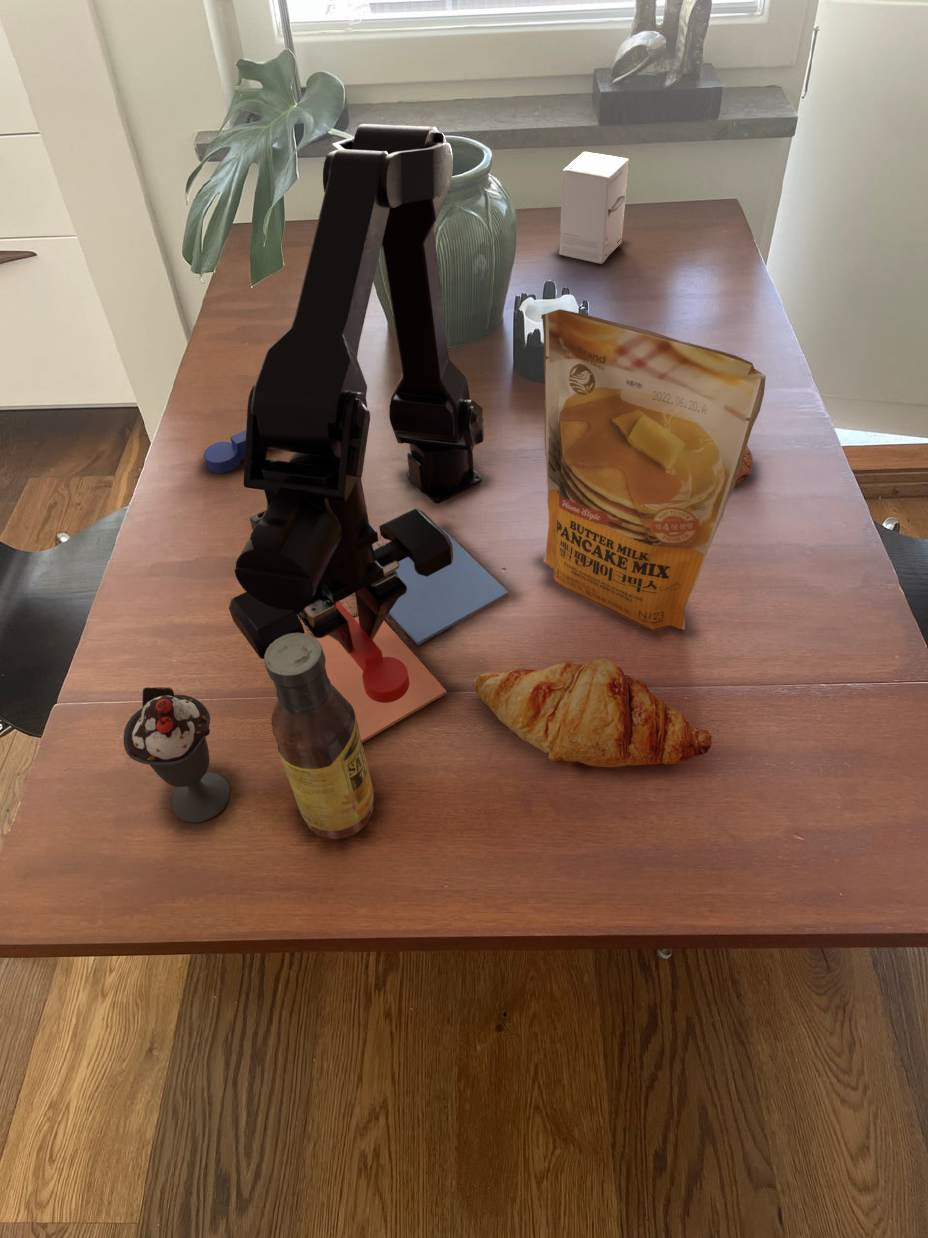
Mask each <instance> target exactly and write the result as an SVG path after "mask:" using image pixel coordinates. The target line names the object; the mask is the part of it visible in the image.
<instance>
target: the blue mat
mask: <svg viewBox="0 0 928 1238" xmlns="http://www.w3.org/2000/svg"><path fill="white" fill-rule="evenodd" d="M441 529H442V530H443V531H444V532H445V533H446V534H447V535H448V537H449V539H450V541H451V543H452V548H453V561H452V564H450V565H448V566H446V567H445V568H443V569H441V570H439V571H437V572H435V573H433V574H431V575H429V576H428V577H426V576H423V575H419V574H418V573H417V572H416V571H415V567H414V562H413V561H412V560H411V559H410V558H409V557H407V558H405V559H403V560H401V561H399V565H400V567H399V568H398V569H397V570H395V571H396V572H397V575H398V577H399V578H400V579H401V580H402V581H403V582H404V583H405V584H406V586H407V592H406V593H405V594H404V595H402V596H401V597H399V599H398V600H397V601H396V603H395V604H394V606H393V607H392V609H391V610H390V612H389V613H388V615H389V616H390V617H391V618H392V619H393V620H394V621H395V623H396V624H398V625H399V627H400V628H401V629H402V630H403V631H404V632H405V634H407V635H408V637H409V638H410V639H411V640H412V641H413V642H414V643H415V644H416V646H419V645H421V644H423V643H425V642H427V641H428V640H430V639H432V638H434V637H435V636H438V635H439V634H441V633H442V632H444V631H446V630H448V629H450V628H452V627H453V626H455V625H457V624H459V623H460V622H462V621H464V620H466V619H468V618H470V617H471V616H473V615H475V614H476V613H478V612H480V611H482V610H484V609H486V608H487V607H489V606H492V605H493V604H494V603H497V602H498V601H500V600H502V599H504V598H506V597H507V596H509V595H510V594H509V593H510V592H509V591H508V590H507V589H506V588H505V587H504V586H503V585H502V584H501V583H500V582H499V581H497V579H496V578H494V577H493V575H491V574H490V573H489V572H488V571H487V570H486V569H485V568H484V567H483V566H482V565H481V564H480V563H479V562H478V561H477V560H475V558H474V557H473V556H471V554H469V553H468V552H467V551H466V550H465V549H464V548H463V547H462V546H461V545H460V544H459V543H458V542H457V541H456V540H454V538H453V537H452V536H450V534H449V533H447V532H446V531H445V530H444V529H443V528H441Z"/></svg>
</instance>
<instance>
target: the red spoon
mask: <svg viewBox="0 0 928 1238" xmlns="http://www.w3.org/2000/svg"><path fill="white" fill-rule="evenodd" d="M336 608H337V609H338V610H339V611H340V612H341V614H342V615H343V616H344V617H345V618H346V620H347V621H348V624H349V629H350V634H351V638H352V643H353V649H352V652H351V653H350V656H351V657H352V658H353V659H354V660H355V662H356V663H357V664H358V665H359V667H360V668H361V669H362V670H363V674H362V679H363V684H364V688H365V692H366V694H367V695H368V696H369V697H370V698H371V699H372V700H374V701H377V702H381V703H389V702H394V701H396V700H398V699H400V698H401V697H403V696H404V695H405V694H406V692H407V690H408V688H409V676H408V670H407V667H406V665H405V664H404V663H403V662H402V661H401V660H399V659H397V658H394V657H383V656H382V651H381V649H380V648H379V647H378V646H377V645H376V643H375V642H374V641H373V640H372V639H371V638H370V637H369V636H368V635H367V633H366V632H365V631H364V630H363V629H362V628H361V626H360V625H359V624H358V622H357V621H356V620H355V619H354V618H355V617H353V615H352V614H351V613H350V612H349V610H348V609H347V608H346V607H345V606H344V605H343V604H342V602H341V600H340V601H338V602H336Z"/></svg>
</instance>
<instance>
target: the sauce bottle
mask: <svg viewBox="0 0 928 1238" xmlns="http://www.w3.org/2000/svg"><path fill="white" fill-rule="evenodd" d="M263 661H264V666H265V669H266V671H267V674H268V676H269V678H270V679H271V681H272V682H273V684H274V687H275V690H276V697H277V700H276V702H275V704H274V706H273V709H272V713H271V719H270V721H271V723H270V724H271V727H272V728H271V729H272V735H273V736H274V738H275V741H276V744H277V745H276V746H277V752H278V754H279V757H280V760H281V763H282V766H283V769H284V771H285V774H286V776H287V780H288V783H289V786H290V788H291V790H292V794H293V797H294V799H295V802H296V805H297V808H298V810H299V813H300V815H301V817H302V818H303V820H304V822H305V824H306V826H307V827H308V828H309V830H311V831H312V833H313V832H314V833H315V834H316V835H317V836H319V837H320V838H323V839H327V840H341V839H347V838H350V837H352V836H354V835H356V834H358V833H359V832H360V831H361V830H363V829H364V827H366V826H367V824H368V822H369V821H370V819H371V816H372V814H373V811H374V807H375V805H374V801H375V800H374V799H375V797H374V795H375V793H374V792H375V791H374V786H373V782H372V778H371V774H370V771H369V766H368V762H367V757H366V754H365V749H364V745H363V743H362V740H361V736H360V732H359V728H358V724H357V720H356V716H355V712H354V709H353V707H352V705H351V704H350V703H349V702H348V701H347V700H346V699H345V698H344V697H343V696H342V695H341V694H340V693H339V691H338V690H337V689H336V688H335V687H334V686H333V685H332V684H331V683H330V680H329V678H328V676H327V673H326V669H325V663H326V660H325V655H324V652H323V649H322V646H321V644H320V643H319V641H318V640H317V637H315V636H314V635H310V634H307V633H305V634H304V633H291V634H287V635H284V636H282V637H280V638H278V639H276V640H275V641H274V642H273V643H271V644H270V646H269V647H268V648H267V650H266V653H265V657H264V659H263Z"/></svg>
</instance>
